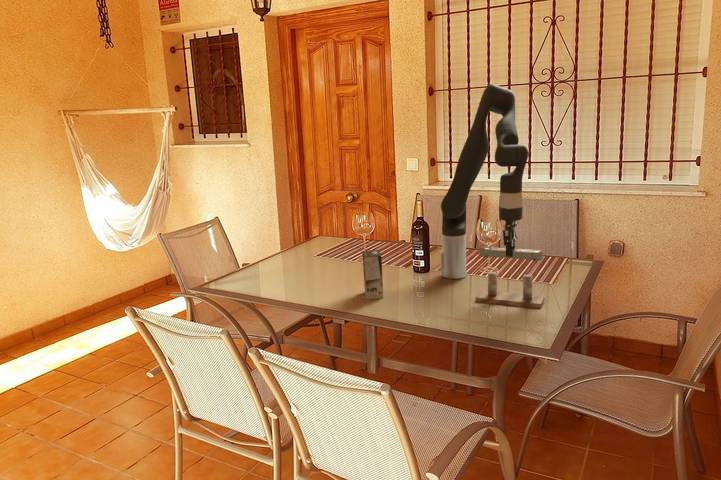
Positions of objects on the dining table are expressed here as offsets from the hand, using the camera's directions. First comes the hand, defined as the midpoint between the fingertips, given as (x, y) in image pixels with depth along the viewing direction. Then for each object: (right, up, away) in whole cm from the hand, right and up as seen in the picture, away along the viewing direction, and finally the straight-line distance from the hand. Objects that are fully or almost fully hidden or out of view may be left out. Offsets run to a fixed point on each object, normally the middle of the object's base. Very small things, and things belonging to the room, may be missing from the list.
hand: (510, 254), depth 199 cm
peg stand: (+1, -16, +4) cm, 17 cm away
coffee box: (-46, -15, +17) cm, 51 cm away
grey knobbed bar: (0, -1, 0) cm, 1 cm away
